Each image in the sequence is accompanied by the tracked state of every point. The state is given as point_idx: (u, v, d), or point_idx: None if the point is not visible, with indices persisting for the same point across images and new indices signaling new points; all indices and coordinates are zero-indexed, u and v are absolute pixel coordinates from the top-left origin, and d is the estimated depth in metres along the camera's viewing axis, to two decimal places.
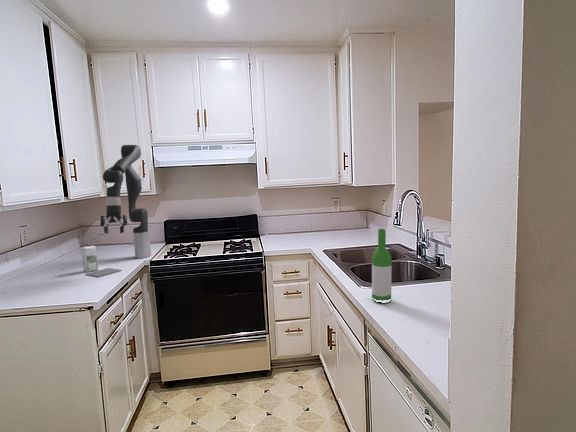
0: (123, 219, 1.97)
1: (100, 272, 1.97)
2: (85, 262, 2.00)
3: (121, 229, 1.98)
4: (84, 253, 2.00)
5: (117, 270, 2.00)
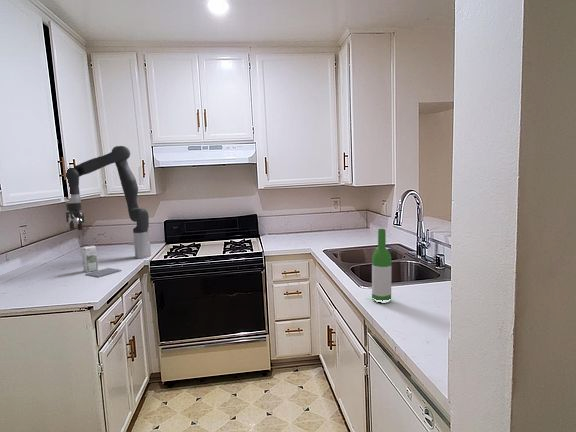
0: (78, 217, 2.01)
1: (100, 272, 1.97)
2: (85, 262, 2.00)
3: (78, 226, 2.03)
4: (84, 253, 2.00)
5: (117, 270, 2.00)
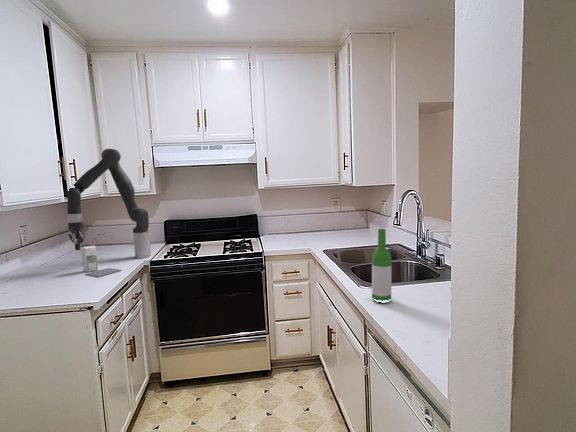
0: (78, 238, 2.04)
1: (100, 272, 1.97)
2: (85, 262, 2.00)
3: (76, 246, 2.06)
4: (84, 253, 2.00)
5: (117, 270, 2.00)
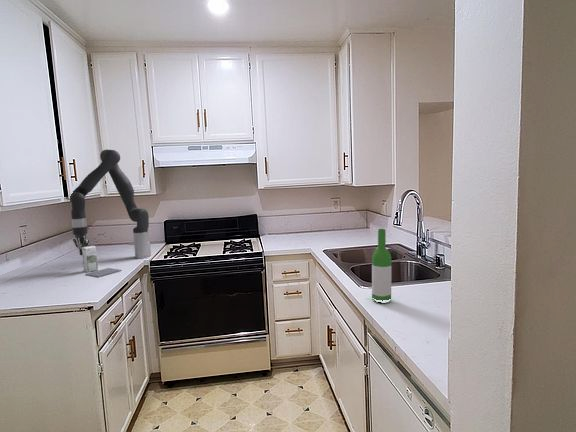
0: (83, 243, 2.02)
1: (100, 272, 1.97)
2: (85, 262, 2.00)
3: (81, 251, 2.05)
4: (84, 253, 2.00)
5: (117, 270, 2.00)
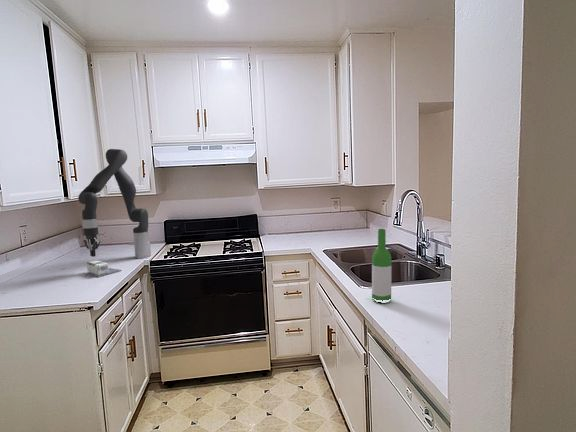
0: (94, 244, 1.97)
1: None
2: (91, 269, 1.96)
3: (92, 253, 2.00)
4: (95, 270, 1.93)
5: (117, 270, 2.00)
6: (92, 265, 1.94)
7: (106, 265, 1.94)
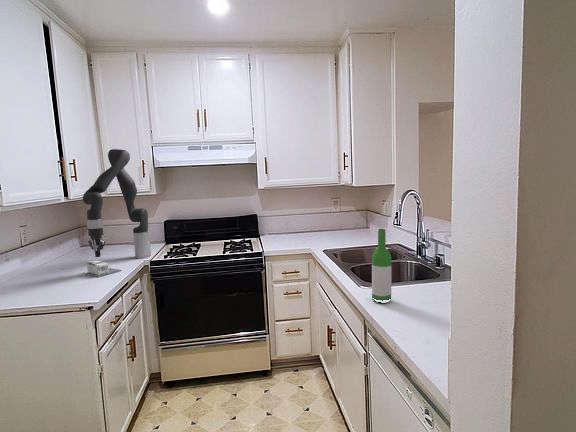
0: (99, 245, 1.95)
1: None
2: (91, 269, 1.96)
3: (97, 253, 1.98)
4: (95, 270, 1.93)
5: (117, 270, 2.00)
6: (92, 265, 1.94)
7: (106, 265, 1.94)
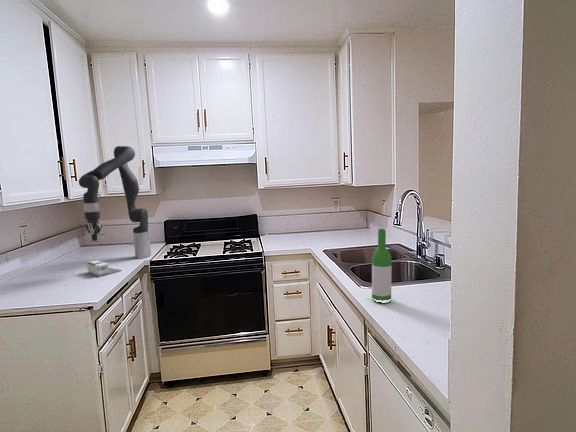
0: (95, 228, 1.95)
1: None
2: (91, 269, 1.96)
3: (93, 237, 1.97)
4: (95, 270, 1.93)
5: (117, 270, 2.00)
6: (92, 265, 1.94)
7: (106, 265, 1.94)
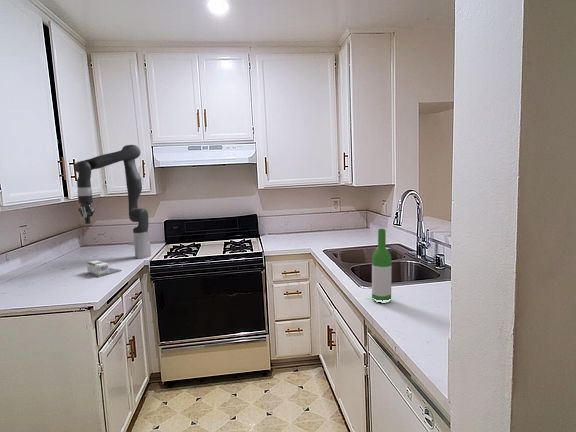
0: (88, 212, 2.04)
1: None
2: (91, 269, 1.96)
3: (86, 220, 2.07)
4: (95, 270, 1.93)
5: (117, 270, 2.00)
6: (92, 265, 1.94)
7: (106, 265, 1.94)
